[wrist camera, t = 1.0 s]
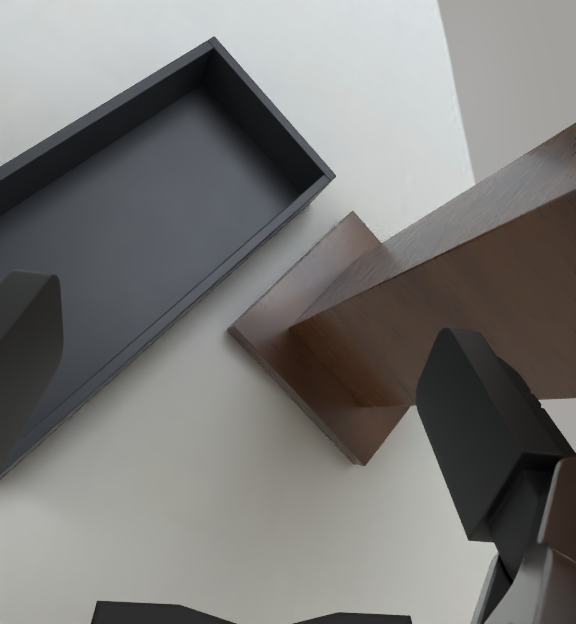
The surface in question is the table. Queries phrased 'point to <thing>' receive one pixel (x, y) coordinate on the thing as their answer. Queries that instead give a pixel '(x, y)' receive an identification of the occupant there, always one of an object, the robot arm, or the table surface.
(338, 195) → the table surface
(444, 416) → the robot arm
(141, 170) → the pan
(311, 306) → the shelf stand
